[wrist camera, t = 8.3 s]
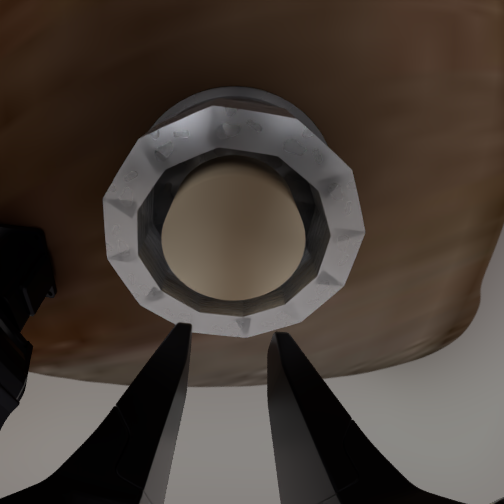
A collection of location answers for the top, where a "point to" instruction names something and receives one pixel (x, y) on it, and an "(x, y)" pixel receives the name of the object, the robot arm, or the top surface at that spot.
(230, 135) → the canister
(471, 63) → the top surface
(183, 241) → the lid
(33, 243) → the robot arm
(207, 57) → the top surface
